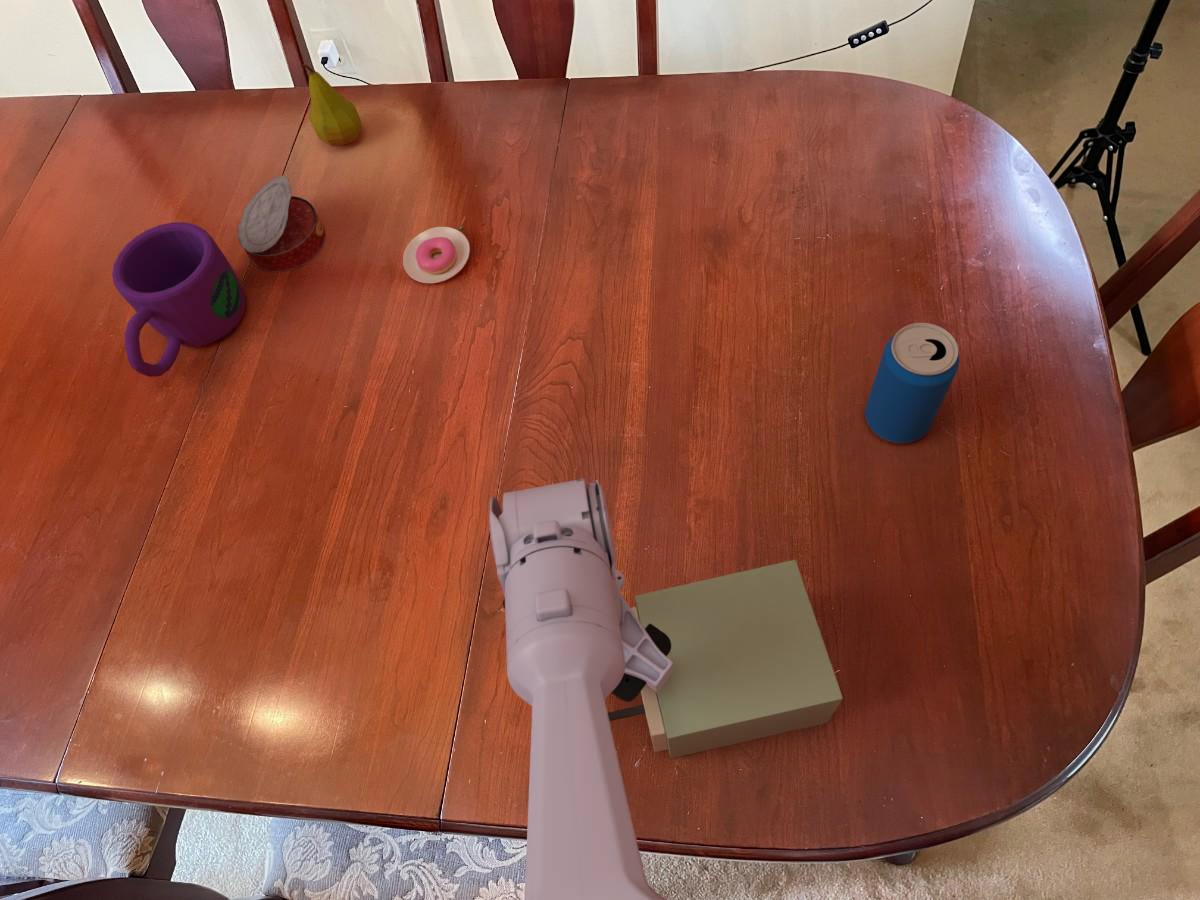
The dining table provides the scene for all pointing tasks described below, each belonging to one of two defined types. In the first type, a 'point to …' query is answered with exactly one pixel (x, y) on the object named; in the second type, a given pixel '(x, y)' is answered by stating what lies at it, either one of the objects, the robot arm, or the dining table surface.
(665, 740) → the drawer
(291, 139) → the dining table surface
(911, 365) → the beverage can
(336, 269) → the dining table surface
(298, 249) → the canned food
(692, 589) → the cabinet
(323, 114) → the fruit
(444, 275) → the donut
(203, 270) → the mug
